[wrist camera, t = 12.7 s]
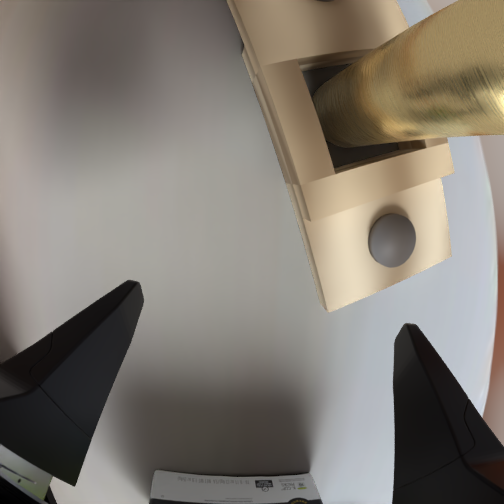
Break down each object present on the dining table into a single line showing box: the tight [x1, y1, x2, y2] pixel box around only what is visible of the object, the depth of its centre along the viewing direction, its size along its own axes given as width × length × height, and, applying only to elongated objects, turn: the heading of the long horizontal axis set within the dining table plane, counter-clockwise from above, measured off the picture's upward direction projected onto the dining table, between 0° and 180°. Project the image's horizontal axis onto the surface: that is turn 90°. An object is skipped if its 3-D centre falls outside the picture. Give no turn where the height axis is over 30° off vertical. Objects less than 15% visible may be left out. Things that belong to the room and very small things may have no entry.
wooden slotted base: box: [226, 0, 454, 313], centre depth 15 cm, size 10×22×4 cm, turn 18°
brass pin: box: [312, 0, 504, 148], centre depth 10 cm, size 4×4×14 cm
